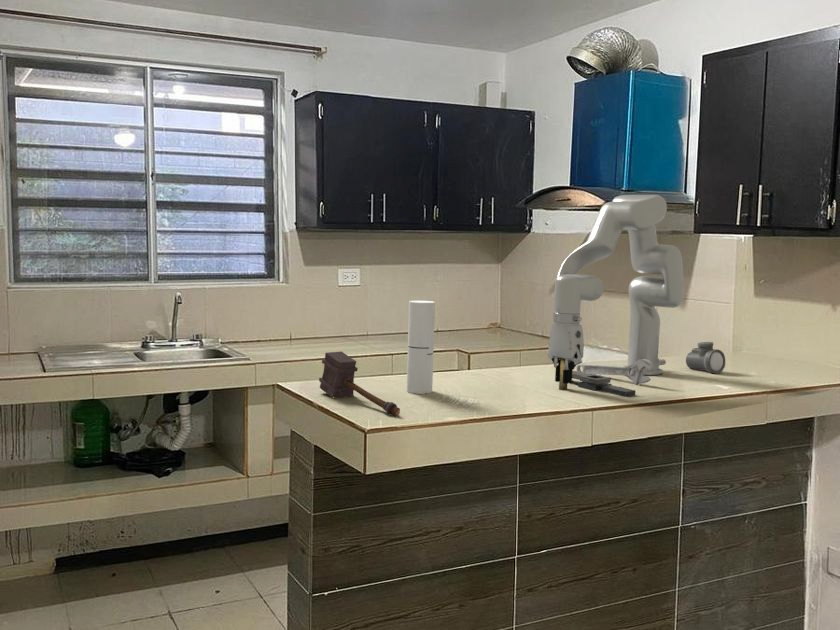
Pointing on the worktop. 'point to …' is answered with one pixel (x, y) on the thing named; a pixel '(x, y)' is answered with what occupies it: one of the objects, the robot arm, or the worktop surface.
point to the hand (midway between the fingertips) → (563, 381)
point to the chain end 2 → (607, 388)
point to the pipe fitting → (706, 358)
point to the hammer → (347, 380)
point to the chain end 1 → (590, 377)
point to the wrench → (621, 370)
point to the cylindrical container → (420, 346)
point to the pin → (562, 367)
